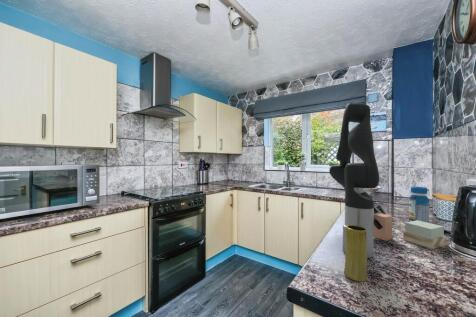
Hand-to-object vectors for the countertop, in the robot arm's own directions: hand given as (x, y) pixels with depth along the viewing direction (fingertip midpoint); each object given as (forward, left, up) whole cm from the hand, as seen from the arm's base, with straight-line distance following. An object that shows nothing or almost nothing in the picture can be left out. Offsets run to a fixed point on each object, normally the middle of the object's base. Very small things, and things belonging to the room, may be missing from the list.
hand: (384, 227), depth 90 cm
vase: (-39, -15, -5) cm, 42 cm away
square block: (0, +1, -5) cm, 5 cm away
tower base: (+11, -9, -5) cm, 15 cm away
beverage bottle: (+39, +6, -5) cm, 40 cm away
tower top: (+11, -9, -1) cm, 14 cm away
